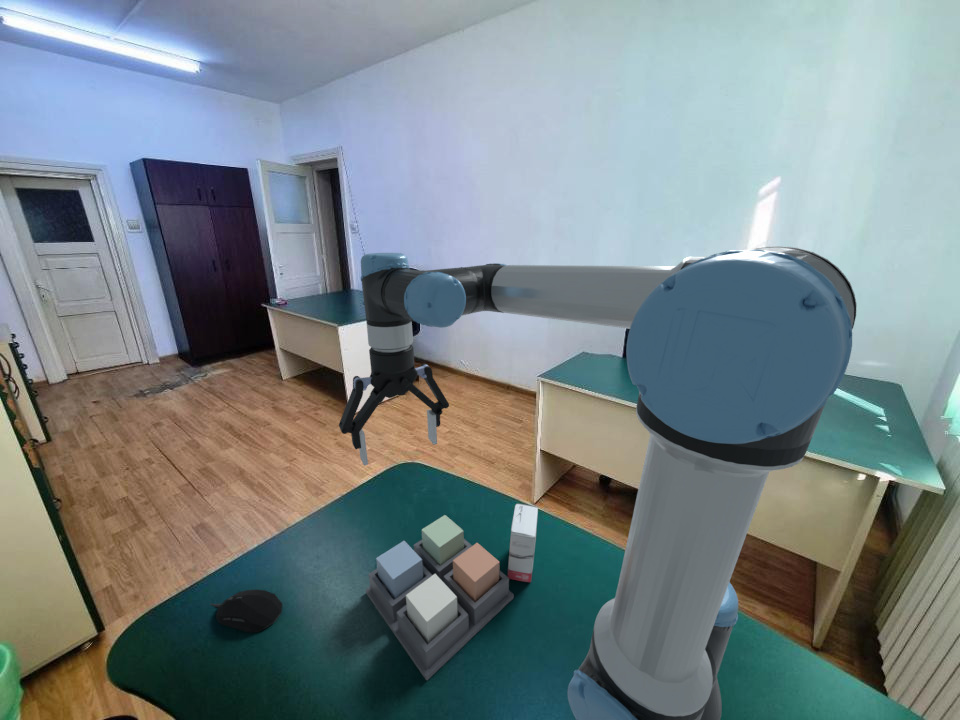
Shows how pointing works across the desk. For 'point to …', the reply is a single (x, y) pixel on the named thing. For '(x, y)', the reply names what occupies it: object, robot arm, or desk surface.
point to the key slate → (399, 569)
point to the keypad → (456, 633)
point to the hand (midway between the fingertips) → (400, 451)
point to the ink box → (522, 542)
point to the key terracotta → (476, 571)
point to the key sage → (442, 540)
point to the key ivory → (431, 607)
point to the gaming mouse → (249, 610)
